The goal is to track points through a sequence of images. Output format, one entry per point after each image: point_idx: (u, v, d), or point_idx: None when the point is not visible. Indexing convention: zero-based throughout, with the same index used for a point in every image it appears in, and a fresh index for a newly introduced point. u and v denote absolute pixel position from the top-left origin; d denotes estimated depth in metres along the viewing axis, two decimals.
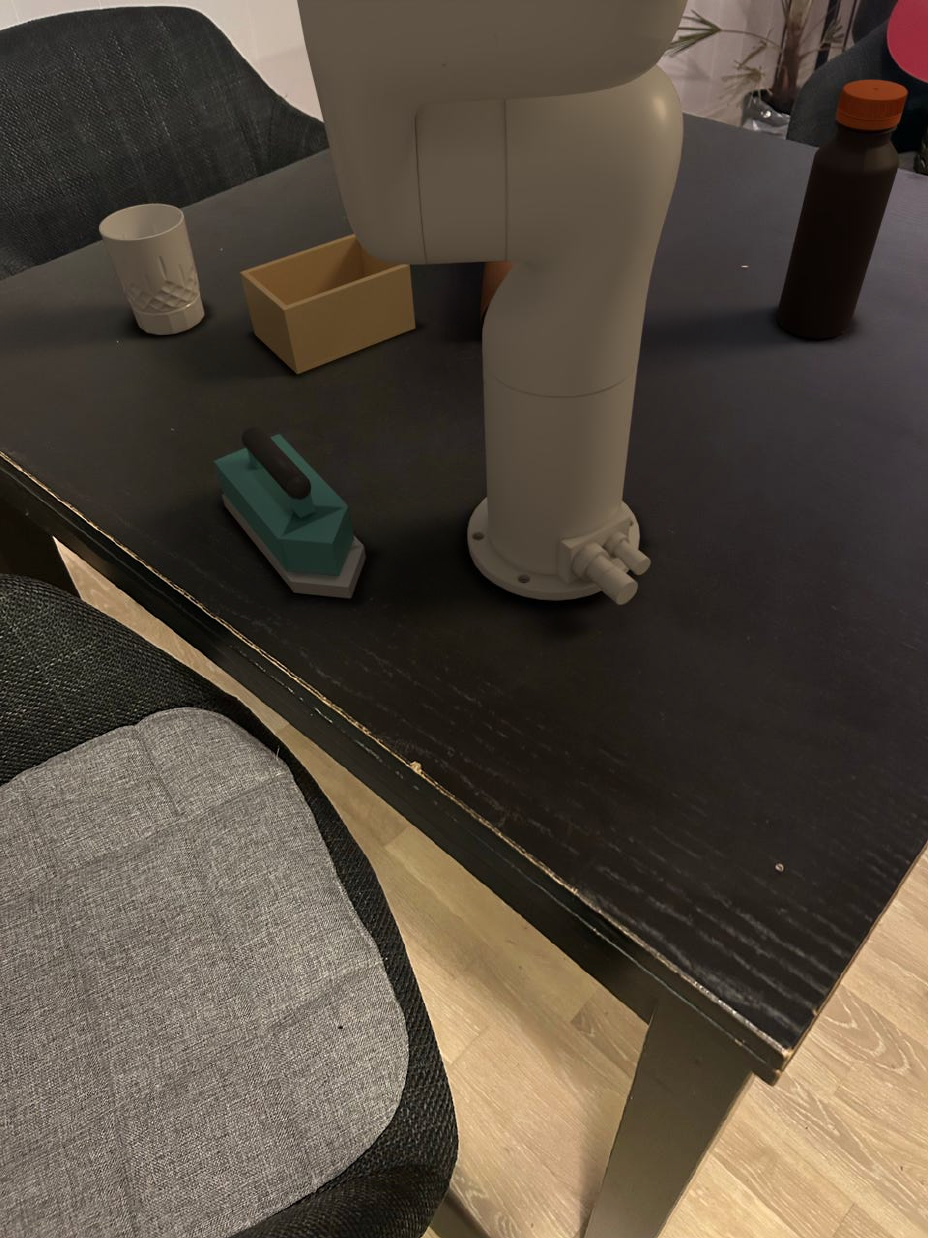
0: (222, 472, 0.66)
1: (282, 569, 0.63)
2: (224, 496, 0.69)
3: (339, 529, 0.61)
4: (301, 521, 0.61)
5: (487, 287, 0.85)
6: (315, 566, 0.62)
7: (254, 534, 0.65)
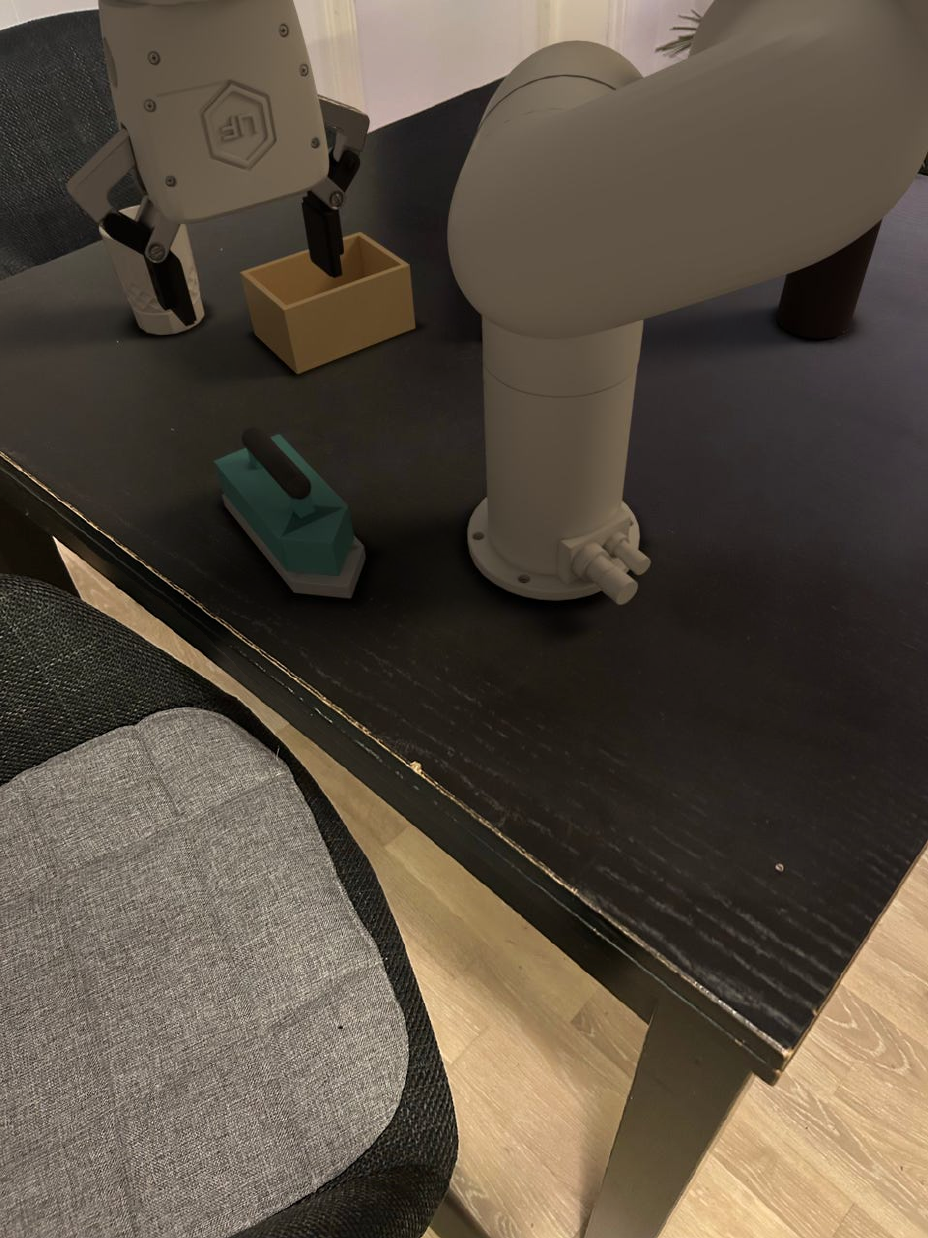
0: (222, 472, 0.66)
1: (282, 569, 0.63)
2: (224, 496, 0.69)
3: (339, 529, 0.61)
4: (301, 521, 0.61)
5: None
6: (315, 566, 0.62)
7: (254, 534, 0.65)
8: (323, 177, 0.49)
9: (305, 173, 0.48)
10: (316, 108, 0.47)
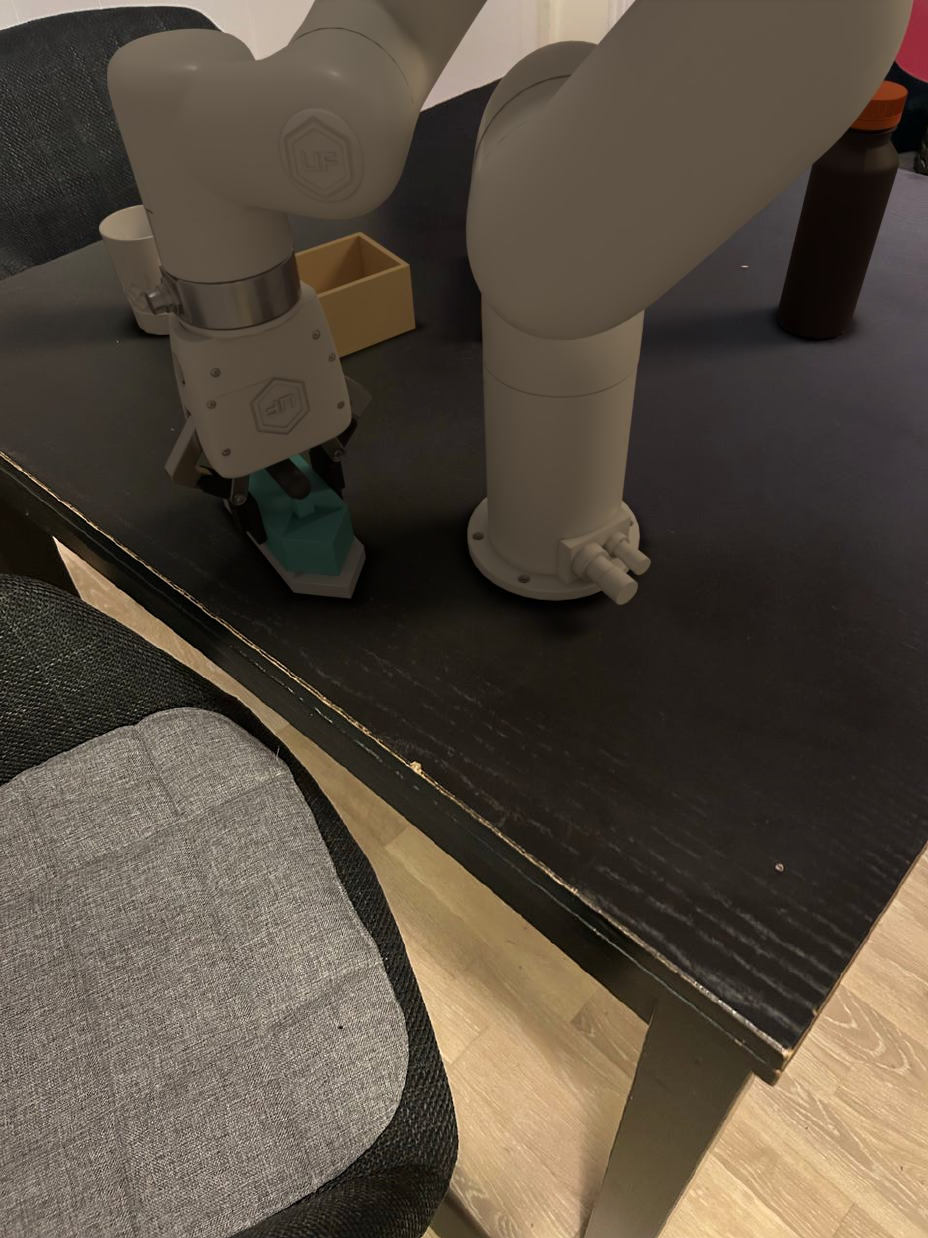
0: None
1: (282, 569, 0.63)
2: None
3: (338, 529, 0.61)
4: (301, 521, 0.61)
5: None
6: (315, 566, 0.62)
7: None
8: (347, 426, 0.59)
9: (332, 427, 0.59)
10: (342, 381, 0.57)
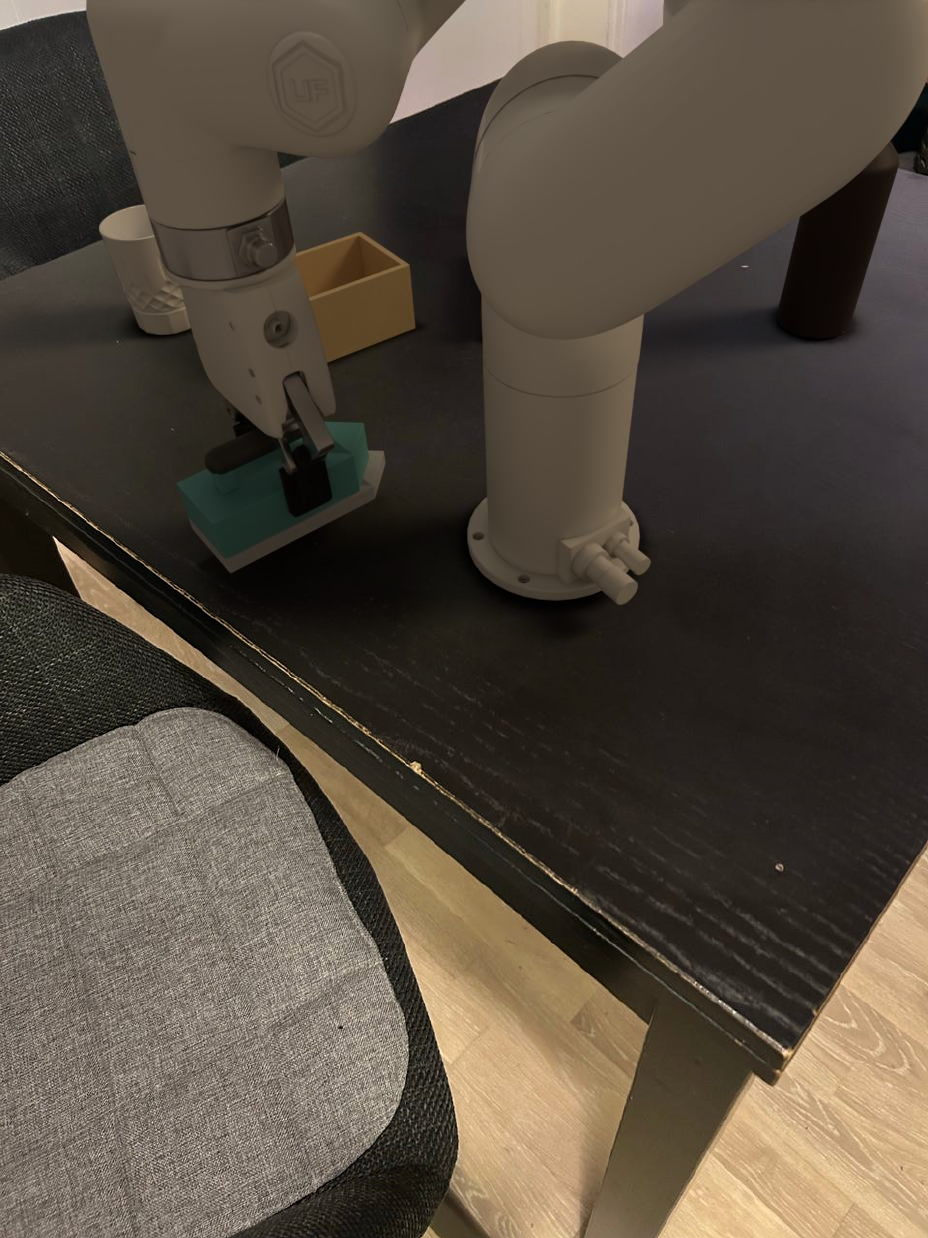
0: (234, 514, 0.58)
1: (355, 494, 0.63)
2: (230, 557, 0.59)
3: (343, 422, 0.64)
4: None
5: None
6: (363, 463, 0.65)
7: (300, 522, 0.62)
8: None
9: None
10: None
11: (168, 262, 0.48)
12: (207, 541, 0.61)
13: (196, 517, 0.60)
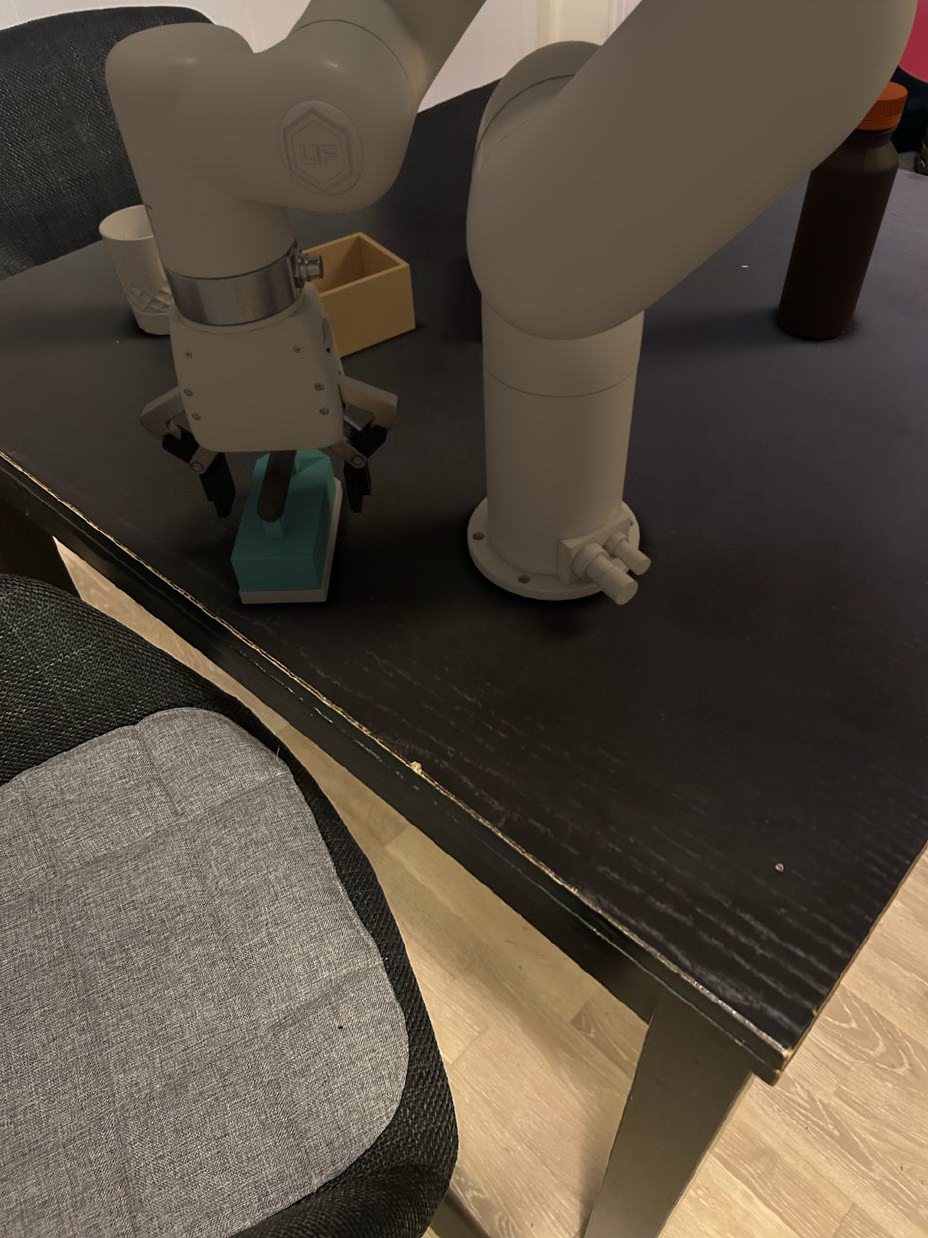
0: (315, 542, 0.60)
1: (337, 492, 0.68)
2: (322, 586, 0.61)
3: None
4: (300, 461, 0.66)
5: None
6: None
7: (331, 533, 0.65)
8: None
9: None
10: None
11: (230, 315, 0.49)
12: (281, 594, 0.61)
13: (267, 576, 0.60)
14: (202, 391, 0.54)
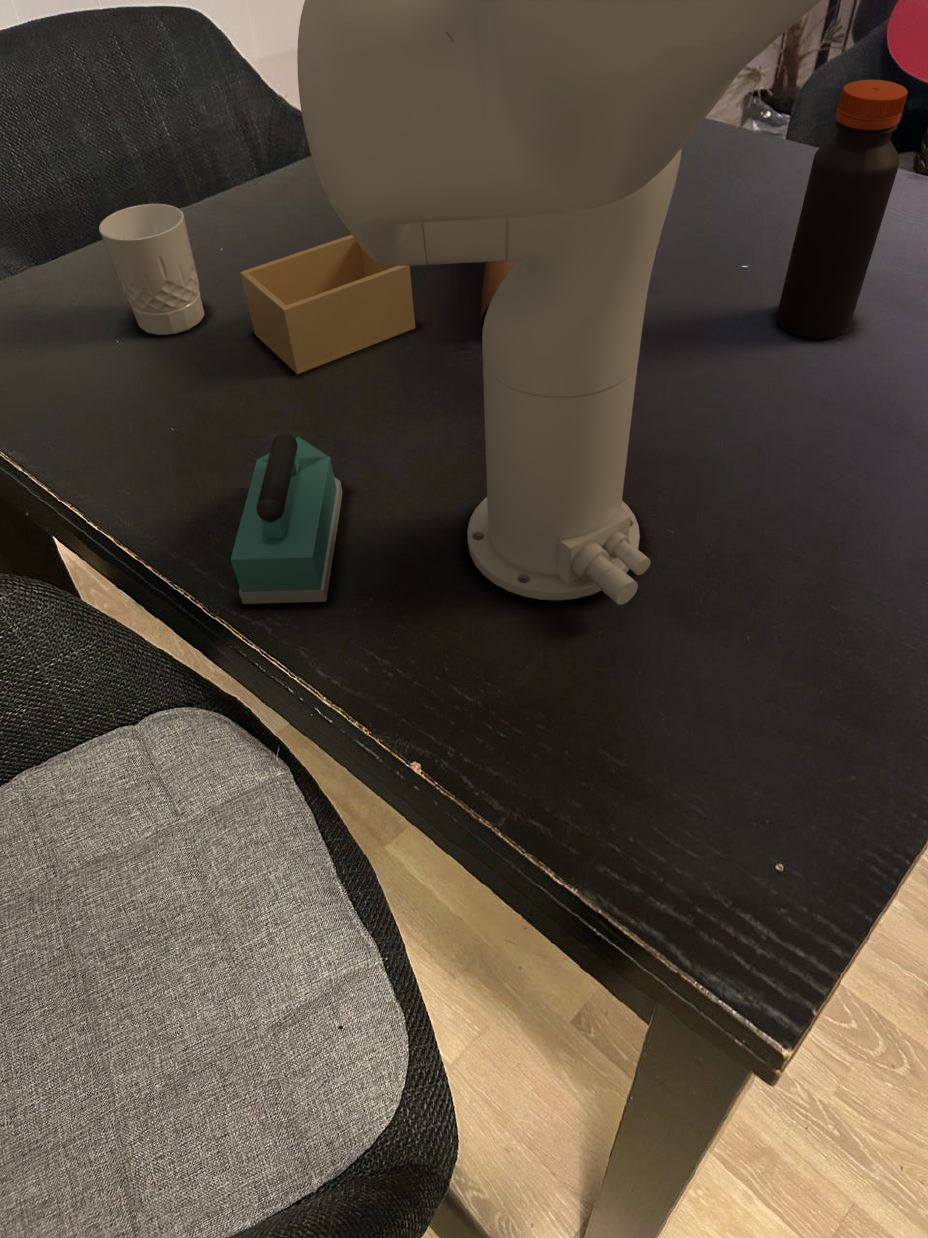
0: (315, 542, 0.60)
1: (337, 492, 0.68)
2: (322, 586, 0.61)
3: None
4: (300, 461, 0.66)
5: (487, 287, 0.85)
6: None
7: (331, 533, 0.65)
8: None
9: None
10: None
11: None
12: (281, 594, 0.61)
13: (267, 576, 0.60)
14: None
